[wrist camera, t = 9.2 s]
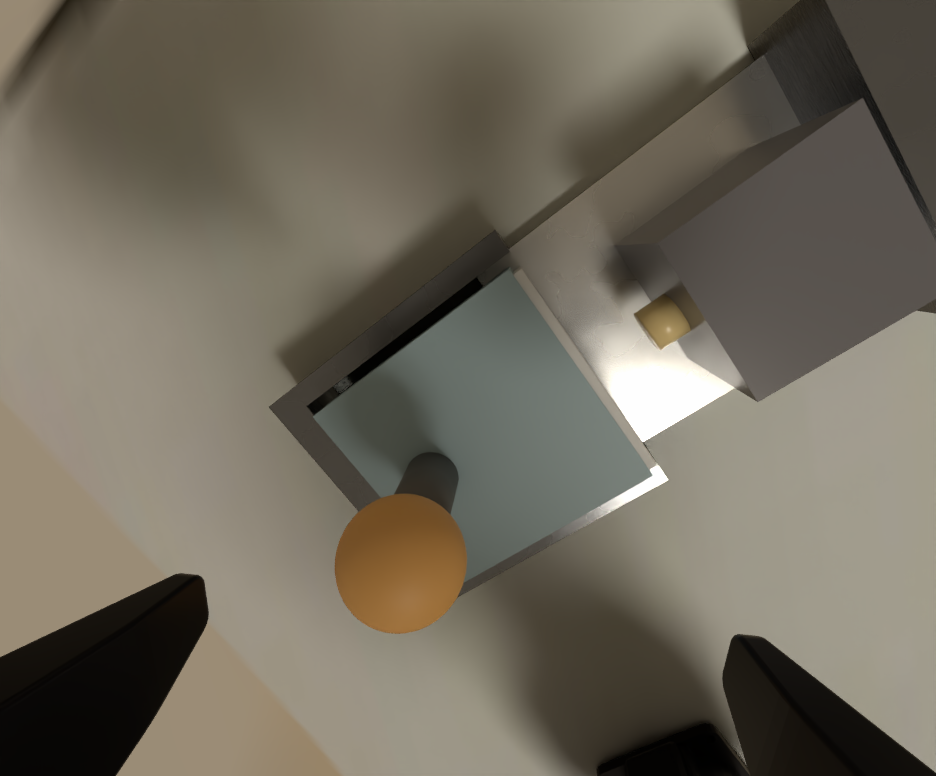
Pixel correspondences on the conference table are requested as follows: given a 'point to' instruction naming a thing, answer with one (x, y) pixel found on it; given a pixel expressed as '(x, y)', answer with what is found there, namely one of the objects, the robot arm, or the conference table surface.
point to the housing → (786, 255)
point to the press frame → (647, 194)
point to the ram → (472, 452)
